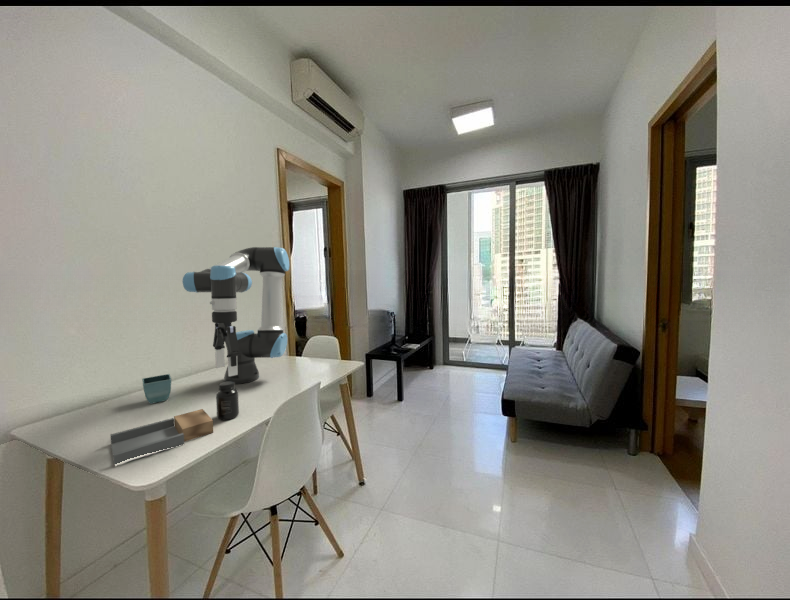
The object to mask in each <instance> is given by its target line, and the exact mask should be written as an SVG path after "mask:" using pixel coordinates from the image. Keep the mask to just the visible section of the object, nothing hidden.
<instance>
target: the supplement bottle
mask: <svg viewBox="0 0 790 600" xmlns="http://www.w3.org/2000/svg"><path fill="white" fill-rule="evenodd" d="M218 390H219V391H217V393H216V396H215V402H216V404H215V405H216V417H217V420H219V421H228V420H232V419H235V418H236V417H238V416H239V414H240V408H239V407H240V405H239V402H240V401H239V391H238V389H236V384H235V382H233V381H227V382H224V381H223V382H221V383H219V384H218Z"/></svg>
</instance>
